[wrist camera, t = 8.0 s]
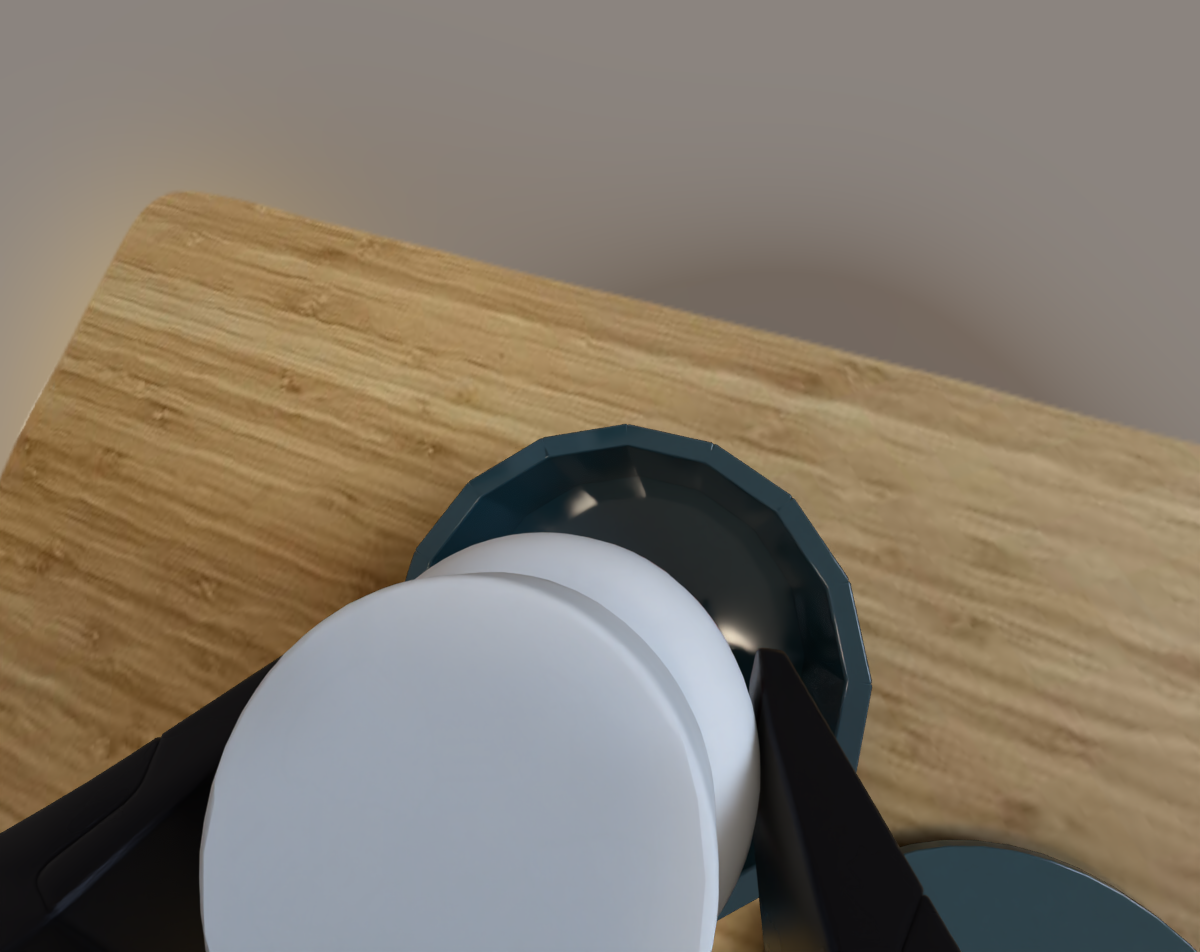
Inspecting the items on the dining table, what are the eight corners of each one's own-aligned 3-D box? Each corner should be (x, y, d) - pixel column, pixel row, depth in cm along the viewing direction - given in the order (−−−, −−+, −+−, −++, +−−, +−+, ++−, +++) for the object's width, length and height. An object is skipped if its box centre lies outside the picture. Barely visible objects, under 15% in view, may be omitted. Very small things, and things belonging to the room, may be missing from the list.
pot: (559, 913, 19) (514, 1035, 14) (404, 571, 22) (321, 568, 17) (900, 721, 19) (982, 774, 13) (690, 401, 22) (692, 347, 17)
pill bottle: (462, 673, 16) (-4, 854, 5) (597, 514, 16) (429, 368, 5) (621, 838, 14) (436, 1598, 4) (766, 658, 15) (997, 850, 4)
